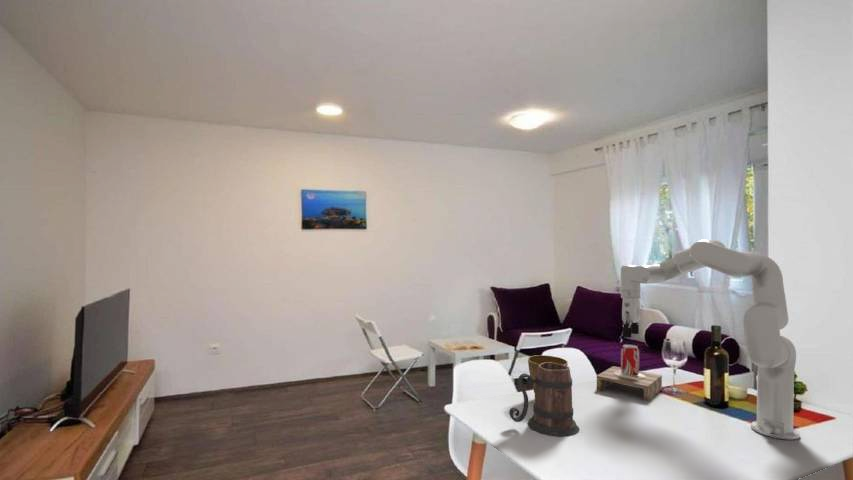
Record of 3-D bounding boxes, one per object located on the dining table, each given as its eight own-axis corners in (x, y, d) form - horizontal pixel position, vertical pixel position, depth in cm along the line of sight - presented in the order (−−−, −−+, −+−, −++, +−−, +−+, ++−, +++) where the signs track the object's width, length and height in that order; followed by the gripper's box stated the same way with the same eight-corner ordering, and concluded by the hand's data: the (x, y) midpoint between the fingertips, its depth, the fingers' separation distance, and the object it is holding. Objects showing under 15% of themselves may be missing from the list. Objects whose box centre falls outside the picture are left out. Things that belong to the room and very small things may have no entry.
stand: (648, 401, 175) (648, 385, 175) (596, 390, 188) (596, 374, 188) (661, 389, 190) (661, 374, 190) (613, 379, 203) (613, 365, 203)
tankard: (564, 415, 160) (565, 358, 160) (589, 435, 143) (590, 372, 143) (501, 418, 156) (502, 360, 156) (519, 439, 139) (520, 375, 140)
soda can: (631, 378, 184) (631, 348, 184) (617, 373, 191) (617, 345, 191) (642, 375, 188) (643, 346, 188) (628, 371, 194) (628, 343, 194)
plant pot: (524, 404, 170) (524, 362, 170) (530, 392, 183) (531, 353, 183) (565, 411, 164) (566, 367, 164) (568, 398, 178) (569, 357, 178)
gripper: (633, 296, 180) (633, 339, 180) (646, 293, 193) (646, 333, 193) (614, 295, 185) (614, 337, 185) (627, 292, 198) (628, 331, 198)
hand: (630, 335), depth 189 cm, fingers open, 9 cm apart
